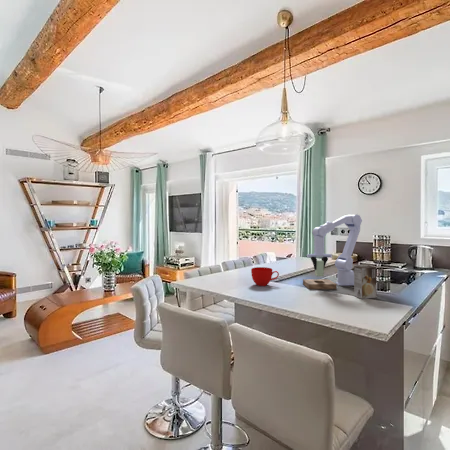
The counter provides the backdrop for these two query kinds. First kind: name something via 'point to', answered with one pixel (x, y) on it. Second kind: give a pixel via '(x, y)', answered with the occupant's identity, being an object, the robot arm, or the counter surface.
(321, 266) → the peg
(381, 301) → the counter surface
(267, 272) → the ceramic cup
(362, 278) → the coffee box
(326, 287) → the socket block
